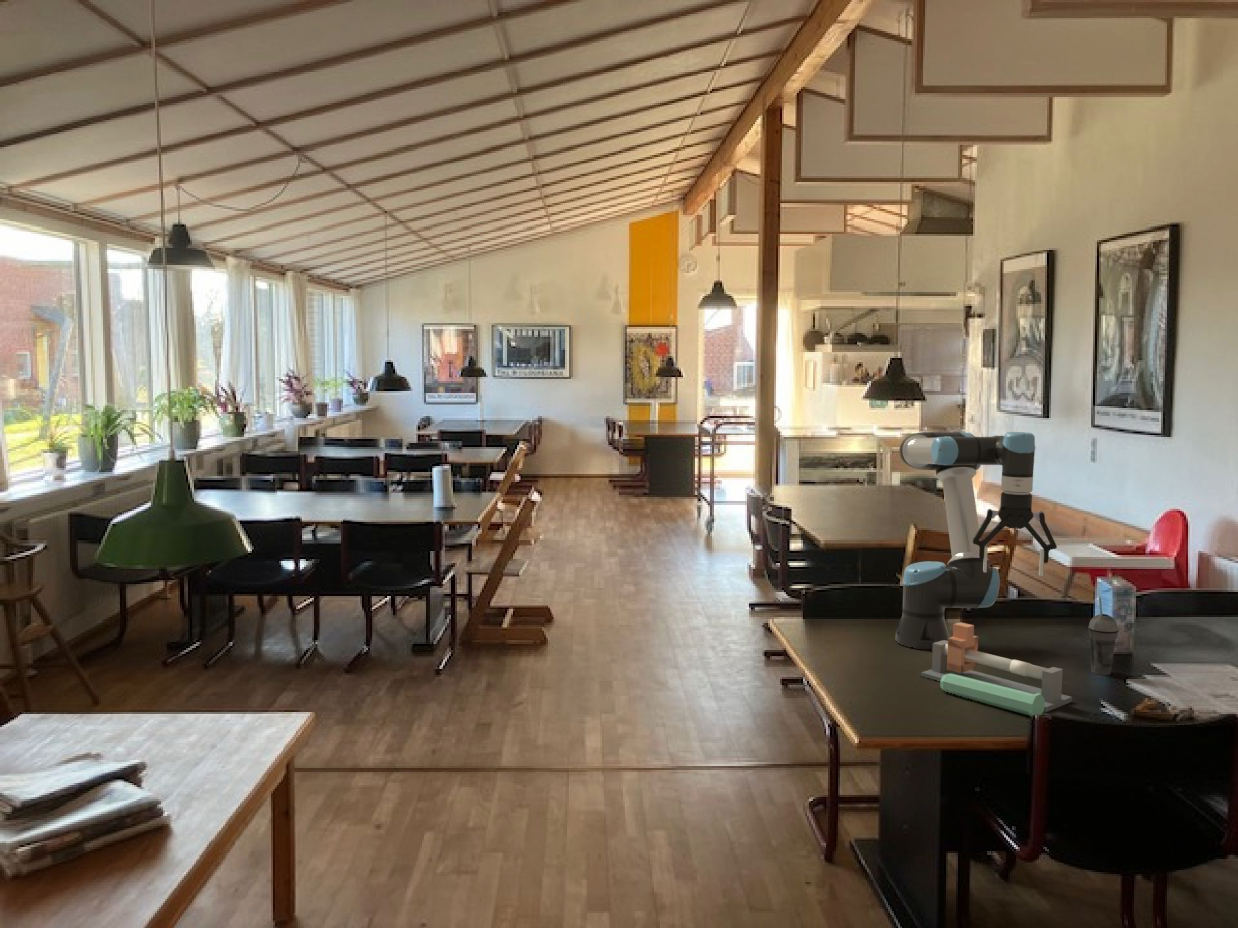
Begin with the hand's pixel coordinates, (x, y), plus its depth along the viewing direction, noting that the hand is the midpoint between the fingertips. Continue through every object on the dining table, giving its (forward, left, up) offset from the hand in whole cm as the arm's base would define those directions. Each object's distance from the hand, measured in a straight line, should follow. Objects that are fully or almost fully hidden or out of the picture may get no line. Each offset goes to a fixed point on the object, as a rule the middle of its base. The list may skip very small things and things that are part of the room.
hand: (1012, 573), depth 262 cm
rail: (+5, -15, -27) cm, 31 cm away
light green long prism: (+9, -25, -27) cm, 38 cm away
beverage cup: (+15, +20, -27) cm, 37 cm away
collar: (-4, -15, -24) cm, 28 cm away
